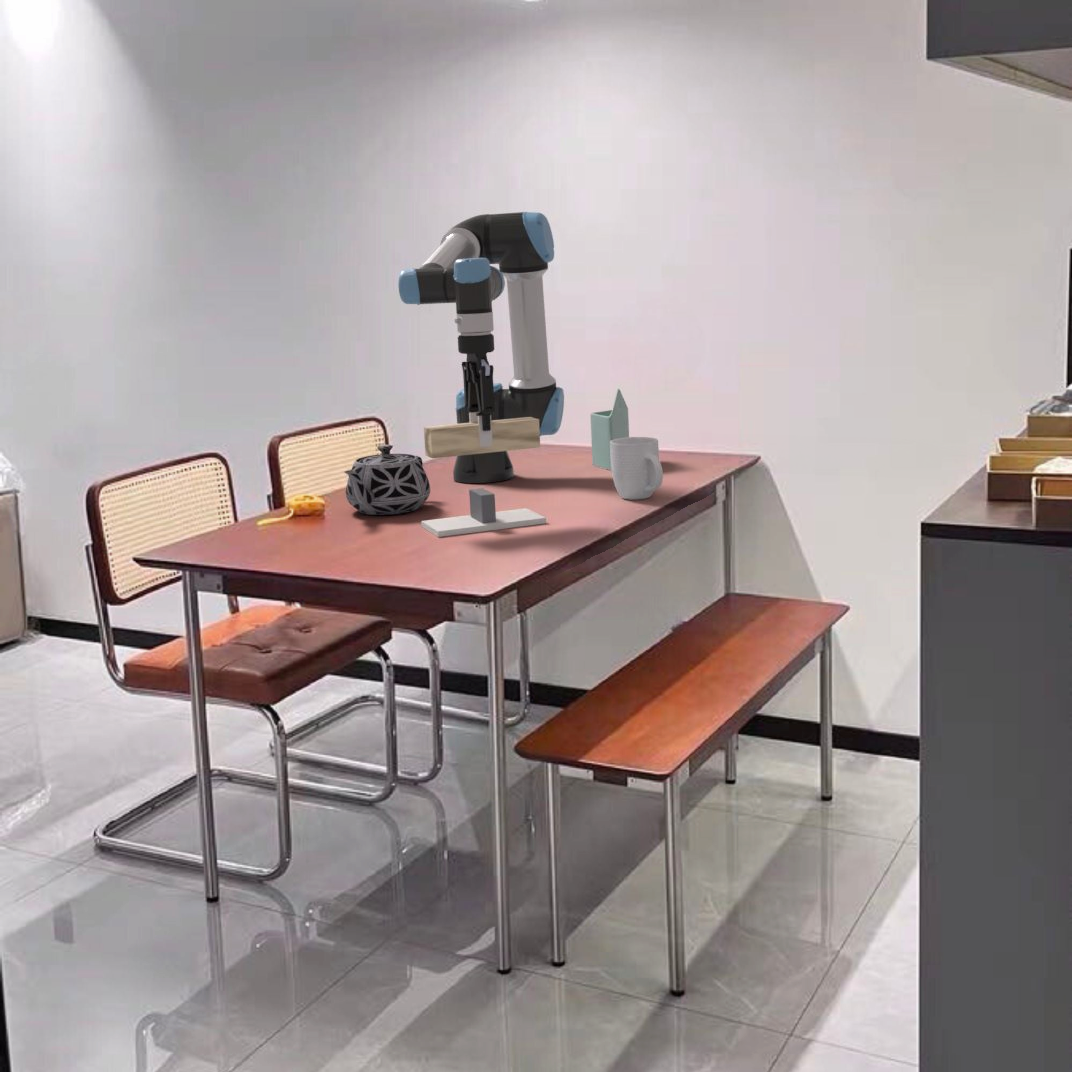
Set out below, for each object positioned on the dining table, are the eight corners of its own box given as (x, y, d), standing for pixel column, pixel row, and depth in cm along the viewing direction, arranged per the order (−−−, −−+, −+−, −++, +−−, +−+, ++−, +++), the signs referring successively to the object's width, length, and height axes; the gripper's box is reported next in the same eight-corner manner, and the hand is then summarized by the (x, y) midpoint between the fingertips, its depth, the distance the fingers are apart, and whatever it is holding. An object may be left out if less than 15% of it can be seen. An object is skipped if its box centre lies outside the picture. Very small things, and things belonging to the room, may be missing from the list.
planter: (601, 459, 388) (598, 384, 384) (630, 459, 385) (627, 384, 381) (583, 470, 373) (580, 393, 368) (613, 471, 370) (611, 392, 366)
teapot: (313, 523, 326) (307, 456, 322) (388, 496, 352) (383, 434, 349) (385, 527, 317) (380, 458, 314) (457, 499, 344) (453, 436, 340)
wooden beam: (425, 455, 310) (423, 427, 309) (531, 444, 318) (530, 416, 317) (432, 458, 306) (430, 429, 304) (540, 447, 314) (539, 419, 312)
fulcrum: (421, 526, 316) (419, 493, 314) (526, 513, 324) (524, 481, 322) (438, 537, 305) (435, 502, 303) (546, 523, 313) (544, 490, 311)
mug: (680, 499, 331) (679, 441, 329) (641, 506, 326) (639, 448, 323) (640, 490, 344) (638, 435, 341) (602, 497, 338) (599, 441, 335)
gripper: (445, 332, 314) (451, 440, 318) (472, 337, 297) (478, 451, 302) (478, 330, 316) (484, 437, 321) (507, 334, 300) (512, 447, 304)
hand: (481, 444), depth 311 cm, fingers closed on wooden beam, 5 cm apart
